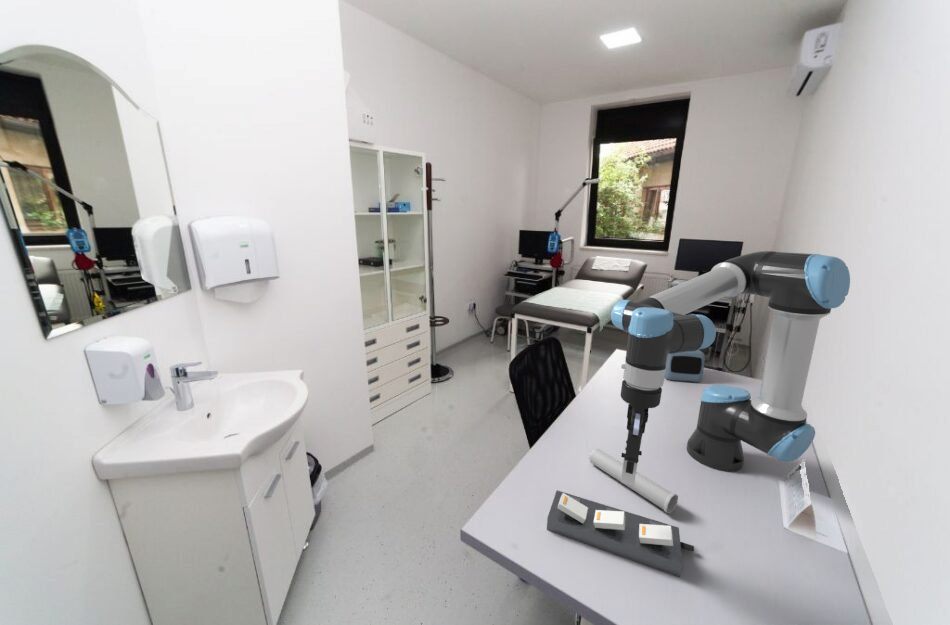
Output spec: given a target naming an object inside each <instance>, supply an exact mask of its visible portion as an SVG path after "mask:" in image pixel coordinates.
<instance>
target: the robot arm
mask: <svg viewBox="0 0 950 625" xmlns="http://www.w3.org/2000/svg"><path fill="white" fill-rule="evenodd" d="M850 286H851V274H850V270H849V268H848V266H847V264H846V263H845V261H844V260H842V259H841V258H839V257H837V256H832V255H824V254H819V253H804V252H803V253H802V252H800V253H799V252H785V251H784V252H783V251H782V252H781V251H772V250H764V251H757V252H751V253H746V254H743V255H738V256H735V257H733V258H729V259H727V260H724V261H722V262H719V263H717V264H715V265H714V266H713V267H712V268H711V270H710V271H708V272H706V273H703V274H700V275H699V276H696V277H694V278H690V279H689V280H687V281H684V282H681V283H679V284H676V285H675V286H672V287H669V288H667V289H665V290H663V291H660V292H657V293H655V294H652V295H650V296H648V297H645V298H643V299H641V300H637V301H634V300H632V299H622V300H619V301H617V302H616V303H615V304H614V305H613V308H612V310H611V313H610V317H611V318H610V319H611V322H612V325H613V326H615V327H616V328H618V329H619V330H622V331H623V332H625V333H628V334H627V335H628V336H627V343H626V344H627V345H626V354H625V363H624V364H623V363H622V364H621V365H620V367H621V369H623V375H622V376H623V377H622V378H623V380H622V381H621V390H620V398H621V400H622V401H624V402H625V403H626V404H628V406H627V414H626V418H627V424H626V430H627V431H628V432H627V438H626V442H625V443H626V446H625V447H624V448H625V449H624V451H625V452H621V456H620V457H621V458H623V462H622V463H623V469H622V476H621V482H620V483H622V484H623V483H625V484H629V485H632V486H634V482H635V476H636V472H637V469H638V463H639V461H640V460H639V456H642V455H643V453H642V452H643V451H641V450H640V449H641V444H642V438H643V434H645V431H646V425H647V423H648V419H649V410H650V409H654V408H657V407H659V405H660V404H661V400H662V399H661V398H662V392H663V389H662V387H663V386H664V381H665V370H666V362H667V356H668V354H674V353H681V352H689V351H697V350H699V351H700V350H704V349H706V348H708V347H710V346H711V345H712V344H713V343H714V342H715V339H716V336H717V330H716V326H715V323H713V321H712V320H711V319H710V318H708V316H705V315H703V314H694V313H692V312H695V311H696V310H699V309H700V308H701V309H702V308H703V307H705V306H707V305H710V304H712V303H715V302H716V301H719V300H721V299H723V298H725V297H727V298H734V297H737V296H739V295H755V296H760V297H765V298H769V299H768V303H767V305H768V306H767V307H768V309H769V310H770V311H771V312H772V313H773V319H772V323H771V324H772V325H771V330H770V335H769V341H768V347H767V351H766V357H765V364H764V369H763V374H762V379H761V383H760V384H761V385H760V390H759V396H758V397H754V398H752V396H751V393H750V392H749V390H748V391H747V390H746V389H744V388H740V387H738V386H735V385H734V386H731V385H728V384H727V385H725V384H714V385H713V384H711V385H709V386H706V387H705V388H704V389H703V391H702V392H703V393H702V395H701V398H700V406H699V413H698V418H697V422H696V428H695V429H694V431H693V433H692V434H691V435H690V437H689V438H688V440H687V444H686V452H687V453H688V455H689V456H690V457H691V458H692V459H694V460H695V461H696V462H698V463H700V464H702V465H703V466H706V467H708V468H711V469H714V470H717V471H722V472H723V471H724V472H736V471H739V470H741V469H743V467H744V462H745V456H744V455H745V454H744V451H743V450H744V449H743V445H742V442H744V443H746V444H747V445H750V446H751V447H753V448H755V449H757V450H758V451H761V452H763V453H764V454H767V456H769V457H772V458H775V459H777V460H779V462H783V463H790V462H794V461H796V460H798V459H799V458H800V457H801V456H803V454H804V453H806V451H807V450H808V449H809V448H810V446H811V444H812V443H813V440H814V439H815V436H816V429H815V427H813V425H811V424H810V423H807V418H808V413H807V411H806V409H804V408H803V407H802V403H803V398H804V394H805V389H806V385H807V380H808V375H809V370H810V367H811V361H812V357H813V354H814V348H815V343H816V339H817V335H818V329H819V326H820V320H821V319H822V318H824V317H827V316H829V315H830V314H831V311H832V309H837V308H839V307H840V306H841V305H843V303H844V302H845V301H846V297H847V296H848V294H849V292H850V291H849V290H850ZM751 398H752V400H751ZM625 484H624V485H625Z"/></svg>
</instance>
